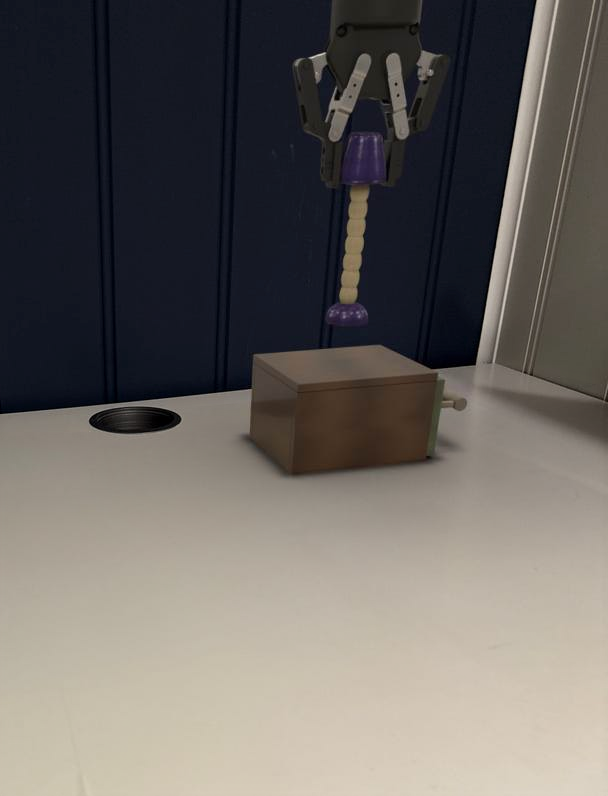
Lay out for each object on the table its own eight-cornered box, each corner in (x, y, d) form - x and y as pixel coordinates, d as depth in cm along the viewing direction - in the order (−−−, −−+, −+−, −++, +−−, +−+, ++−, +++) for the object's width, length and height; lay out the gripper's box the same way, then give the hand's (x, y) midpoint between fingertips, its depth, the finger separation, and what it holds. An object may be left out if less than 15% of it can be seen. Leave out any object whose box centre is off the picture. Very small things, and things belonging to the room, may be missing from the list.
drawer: (418, 420, 106) (427, 350, 102) (471, 451, 96) (484, 375, 92) (270, 434, 103) (275, 362, 99) (311, 468, 93) (317, 390, 89)
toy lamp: (381, 323, 92) (402, 131, 83) (347, 330, 90) (365, 133, 81) (345, 315, 95) (362, 130, 87) (312, 322, 93) (326, 133, 85)
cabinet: (370, 430, 106) (380, 344, 101) (425, 466, 95) (438, 372, 90) (248, 442, 103) (253, 354, 98) (291, 480, 93) (298, 384, 88)
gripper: (309, -45, 74) (294, 192, 82) (482, -48, 75) (450, 187, 84) (285, -33, 80) (274, 186, 89) (445, -36, 81) (419, 181, 90)
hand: (359, 185), depth 86 cm, fingers closed on toy lamp, 4 cm apart
